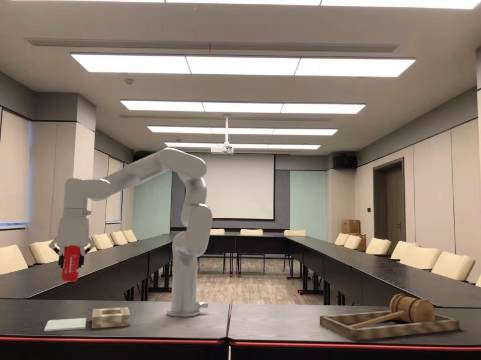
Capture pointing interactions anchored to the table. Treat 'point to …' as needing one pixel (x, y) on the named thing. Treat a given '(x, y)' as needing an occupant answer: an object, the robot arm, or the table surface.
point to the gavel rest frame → (338, 326)
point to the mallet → (405, 311)
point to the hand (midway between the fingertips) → (71, 267)
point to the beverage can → (71, 263)
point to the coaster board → (65, 324)
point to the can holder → (110, 317)
